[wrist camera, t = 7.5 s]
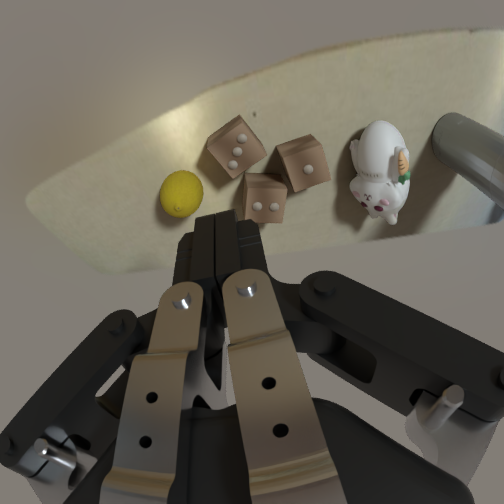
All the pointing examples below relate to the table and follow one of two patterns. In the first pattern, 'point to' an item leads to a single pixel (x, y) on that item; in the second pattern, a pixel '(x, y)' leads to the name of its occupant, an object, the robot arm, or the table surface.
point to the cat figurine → (381, 170)
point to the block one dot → (304, 162)
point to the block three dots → (235, 146)
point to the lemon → (181, 194)
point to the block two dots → (264, 197)
